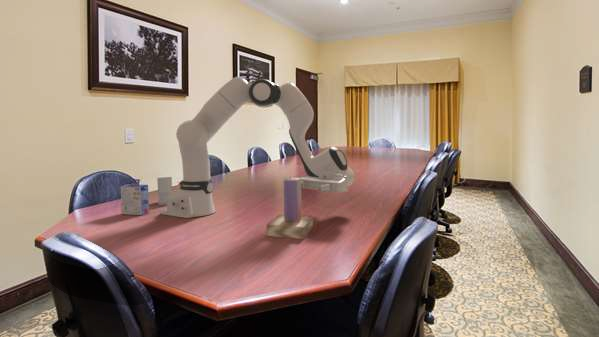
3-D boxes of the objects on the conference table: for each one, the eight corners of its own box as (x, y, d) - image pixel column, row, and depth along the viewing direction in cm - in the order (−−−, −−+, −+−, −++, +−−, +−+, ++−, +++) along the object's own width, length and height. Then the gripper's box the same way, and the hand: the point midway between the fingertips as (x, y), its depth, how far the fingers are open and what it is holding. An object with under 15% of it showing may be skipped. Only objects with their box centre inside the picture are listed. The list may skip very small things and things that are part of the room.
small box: (173, 204, 170) (171, 177, 168) (158, 205, 168) (156, 177, 166) (172, 200, 177) (171, 174, 176) (158, 201, 175) (157, 175, 174)
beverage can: (289, 224, 122) (289, 180, 120) (280, 220, 127) (280, 178, 125) (304, 221, 125) (304, 178, 123) (295, 217, 130) (295, 176, 128)
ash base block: (266, 235, 123) (266, 224, 122) (279, 225, 135) (279, 214, 135) (303, 239, 119) (303, 227, 119) (313, 227, 132) (313, 217, 131)
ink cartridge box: (150, 212, 155) (148, 179, 153) (142, 215, 150) (140, 181, 148) (130, 211, 157) (127, 178, 155) (121, 214, 152) (119, 180, 150)
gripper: (307, 172, 151) (287, 176, 140) (351, 176, 139) (332, 181, 128) (307, 186, 152) (287, 192, 141) (351, 192, 140) (332, 198, 129)
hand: (309, 187), depth 134 cm, fingers open, 8 cm apart
